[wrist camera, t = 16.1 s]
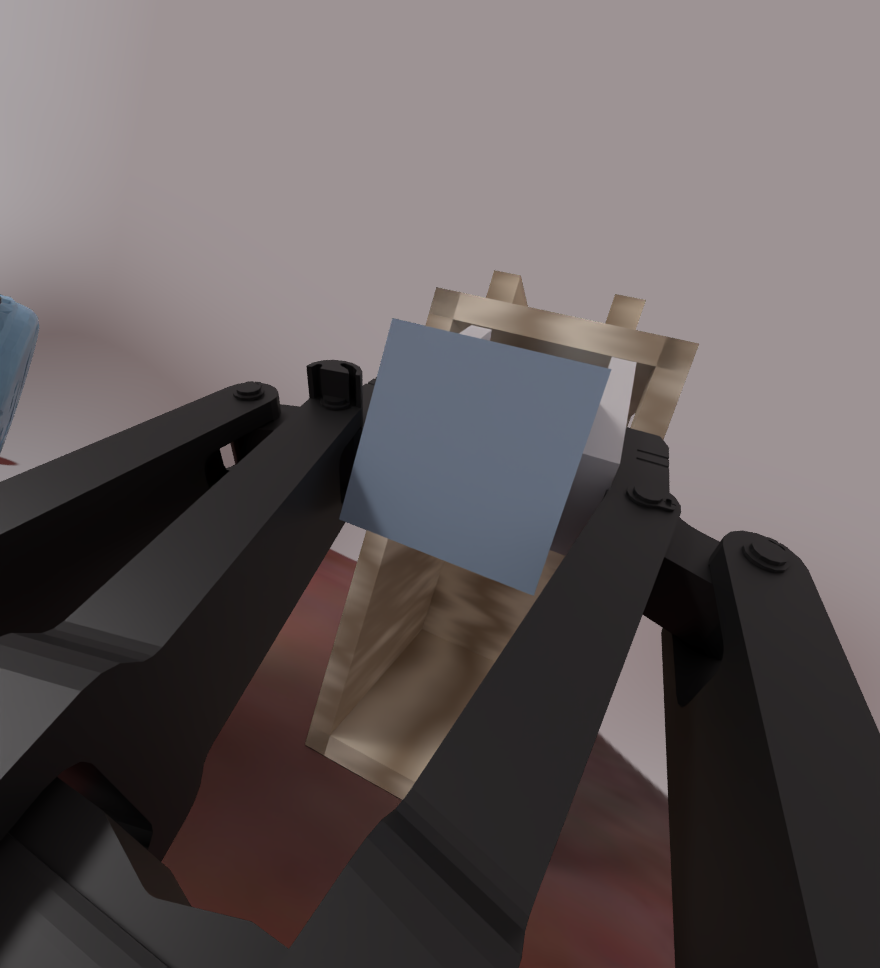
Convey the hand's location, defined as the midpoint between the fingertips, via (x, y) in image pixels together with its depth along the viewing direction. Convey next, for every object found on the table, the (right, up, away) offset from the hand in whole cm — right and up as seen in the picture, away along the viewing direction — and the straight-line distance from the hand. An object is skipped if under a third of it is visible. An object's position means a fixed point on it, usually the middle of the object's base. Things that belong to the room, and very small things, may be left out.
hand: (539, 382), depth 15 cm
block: (0, -4, +6) cm, 7 cm away
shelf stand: (-3, -22, +21) cm, 31 cm away
